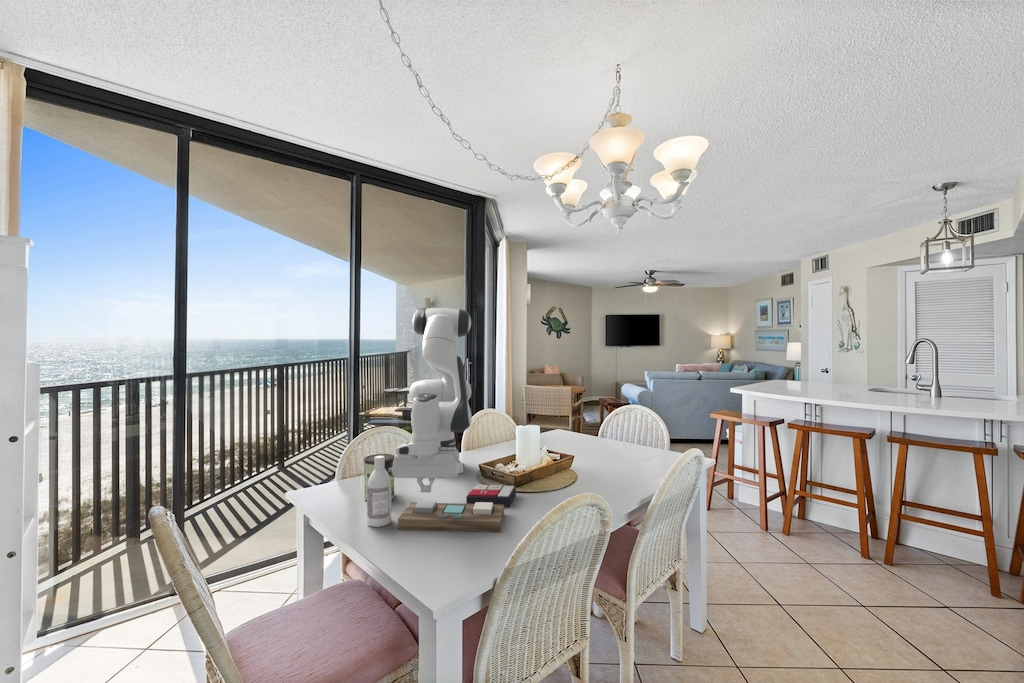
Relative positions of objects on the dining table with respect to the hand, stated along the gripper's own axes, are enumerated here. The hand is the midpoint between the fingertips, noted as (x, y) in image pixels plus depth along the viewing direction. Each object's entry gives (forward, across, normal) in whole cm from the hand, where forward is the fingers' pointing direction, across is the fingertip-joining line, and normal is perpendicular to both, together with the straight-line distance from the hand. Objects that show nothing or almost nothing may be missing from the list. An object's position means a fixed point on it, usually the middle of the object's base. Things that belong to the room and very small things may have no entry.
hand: (425, 491), depth 134 cm
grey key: (+6, 0, 0) cm, 6 cm away
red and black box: (+9, -18, -17) cm, 27 cm away
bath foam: (+9, +13, +3) cm, 16 cm away
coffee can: (+8, +21, -18) cm, 29 cm away
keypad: (+8, -9, +1) cm, 12 cm away
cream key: (+6, -18, 0) cm, 19 cm away
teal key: (+7, -9, 0) cm, 11 cm away
